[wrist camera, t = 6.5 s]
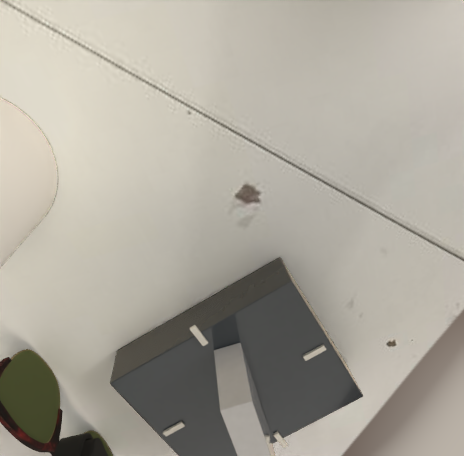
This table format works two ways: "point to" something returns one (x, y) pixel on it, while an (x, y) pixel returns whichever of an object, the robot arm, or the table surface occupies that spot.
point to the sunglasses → (32, 402)
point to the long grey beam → (241, 403)
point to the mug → (23, 178)
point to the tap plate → (258, 358)
